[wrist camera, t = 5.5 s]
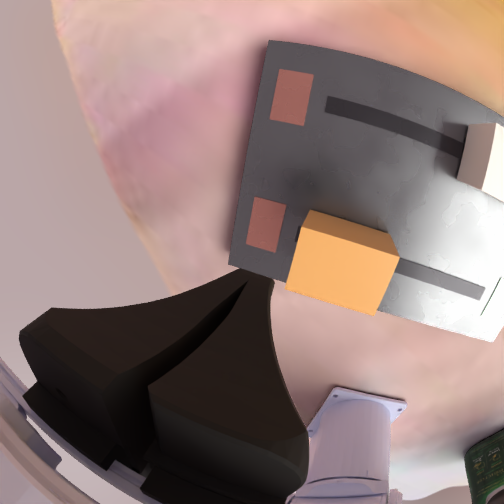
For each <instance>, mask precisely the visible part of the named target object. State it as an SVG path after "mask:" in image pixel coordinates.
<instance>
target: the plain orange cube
mask: <svg viewBox="0 0 504 504" xmlns="http://www.w3.org/2000/svg"><path fill="white" fill-rule="evenodd" d="M399 258H400V256H399V254H398V251H397V249H396V247H395V244H394V242H393V240H392V238H391V235H390V234H388V233H385V232H382V231H379V230H376V229H372V228H369V227H366V226H363V225H360V224H357V223H354V222H350V221H347V220H344V219H341V218H337V217H334V216H331V215H327V214H324V213H320V212H317V211H313V210H310V211H309V213H308V215H307V217H306V219H305V221H304V223H303V225H302V227H301V231H300V234H299V238H298V242H297V246H296V250H295V253H294V257H293V261H292V264H291V268H290V272H289V275H288V279H287V283H286V286H285V289H286V290H289V291H292V292H296V293H299V294H302V295H305V296H309V297H312V298H315V299H318V300H322V301H325V302H328V303H331V304H335V305H338V306H341V307H345V308H348V309H352V310H355V311H358V312H362V313H365V314H369V315H372V316H374V315H375V313H376V311H377V309H378V307H379V304H380V302H381V300H382V298H383V296H384V294H385V291H386V289H387V287H388V285H389V282H390V280H391V278H392V275H393V273H394V271H395V268H396V266H397V263H398V261H399Z"/></svg>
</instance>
